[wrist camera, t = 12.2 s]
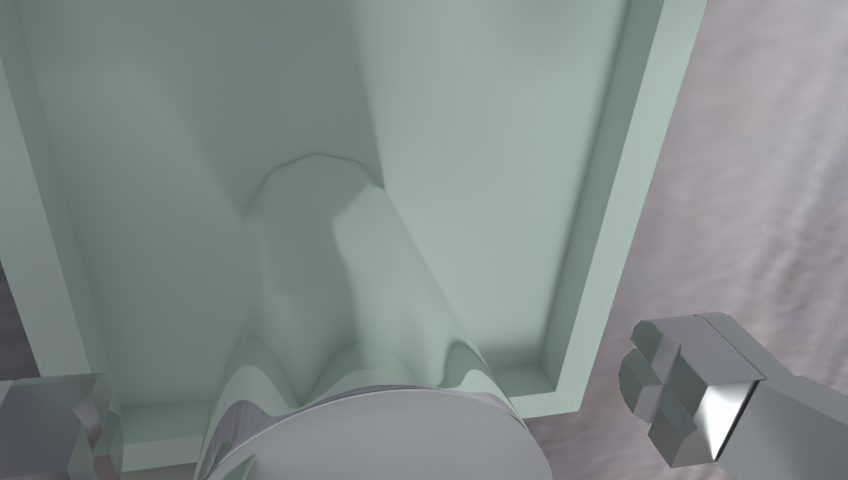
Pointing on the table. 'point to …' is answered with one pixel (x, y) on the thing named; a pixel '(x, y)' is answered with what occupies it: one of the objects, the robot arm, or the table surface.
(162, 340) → the tray
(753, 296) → the table surface
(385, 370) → the milkshake
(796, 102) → the table surface
